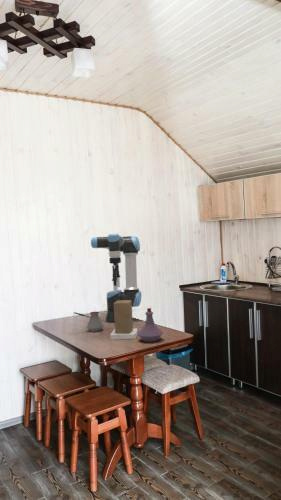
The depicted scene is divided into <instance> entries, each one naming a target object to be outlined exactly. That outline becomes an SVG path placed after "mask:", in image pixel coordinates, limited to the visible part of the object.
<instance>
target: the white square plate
mask: <svg viewBox="0 0 281 500" xmlns="http://www.w3.org/2000/svg"><path fill="white" fill-rule="evenodd" d="M138 330H139V329H138V327H137V328H136V327H135V328H133V330H132V331H131V333H115V328H114V329H113V330H112V332H111V333H110V336H109V338H110V340H111V341H113V340H136V338H137V337H138V333H139V331H138Z"/></svg>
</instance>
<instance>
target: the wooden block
mask: <svg viewBox="0 0 281 500" xmlns="http://www.w3.org/2000/svg"><path fill="white" fill-rule="evenodd" d="M114 320H115V322H114V329H115V333H131V331H132V330H133V329H134V322H133V307H132V301H131V300H117V301H116V302H115V303H114Z"/></svg>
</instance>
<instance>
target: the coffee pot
mask: <svg viewBox="0 0 281 500" xmlns="http://www.w3.org/2000/svg"><path fill="white" fill-rule="evenodd" d="M99 313H100V312H99V311H91V312H90V313H89V314H90V315H85V314H83V313H78V312H73V314H74V315H79V316H83V317H86V318H89V321H88V323H87V326H86V328H87V330H88V331H89V332H91V333H93V332H94V333H97V332H100V331H102V329H103V328H104V324H103V322H102V320H101V317H100V316H99Z"/></svg>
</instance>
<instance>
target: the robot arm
mask: <svg viewBox="0 0 281 500" xmlns="http://www.w3.org/2000/svg"><path fill="white" fill-rule="evenodd" d="M90 239H91V240H90V245H91V248H93V249H107V250H108V257H109V264H111V269H112V279H111V281H112V285H113V290H110V291H108V292H107V293H106V307H107V309H106V310H107V311H106V315H105V322H107V323H115V320H114V303H115V302H116V301H117V300H131V301H132V308H133V307H139V306H140V305H141V303H142V291H140V289H139V287H138V280H137V279H138V278H137V275H138V274H137V273H138V272H137V255H138V254H139V252H140V251H141V244H140V239H139V238H138V236H135V235H134V236H133V235H130V236H129V235H128V236H121V235H120V234H119V233H110V234H109V233H108V235H107V236H95V237H92V238H90ZM121 253H122V254H123V256H124V262H125V263H124V265H125V266H124V268H125V269H124V270H125V288H124V289H123V291H122V289H119V288H120V287H121V281H120V279H121V274H120V266H119V264H121V263H122V258H121V256H122V255H121Z"/></svg>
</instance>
